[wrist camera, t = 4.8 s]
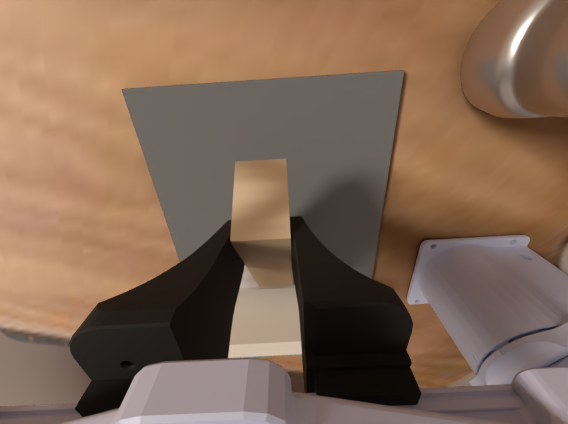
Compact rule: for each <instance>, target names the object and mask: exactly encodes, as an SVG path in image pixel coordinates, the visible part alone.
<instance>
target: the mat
mask: <svg viewBox="0 0 568 424" xmlns="http://www.w3.org/2000/svg"><path fill="white" fill-rule="evenodd" d="M403 76H404V70H400V71H385V72H370V73H355V74H340V75H325V76H310V77H295V78H280V79H265V80H250V81H235V82H220V83H205V84H190V85H175V86H160V87H145V88H130V89H122V92H123V95H124V98H125V101H126V104H127V107H128V110H129V113H130V116H131V119H132V122H133V125H134V128H135V131H136V134H137V137H138V139H139V142H140V145H141V148H142V151H143V154H144V157H145V160H146V163H147V166H148V169H149V172H150V175H151V178H152V181H153V184H154V187H155V190H156V192H157V195H158V198H159V201H160V204H161V207H162V210H163V213H164V216H165V219H166V222H167V225H168V228H169V231H170V234H171V237H172V240H173V243H174V245H175V248H176V251H177V254H178V257H179V260H180V262H181V261H183V260H184V259H186V258H187V257H188V256H190V255H191V254H192V253H193V252H195V251H196V250H197V249H198V248H199V247H200V246H202V245H203V244H204V243H205V242H206V241H207V240H208V239H209V238H210V237H212V236H213V235H214V234H215V233H216V232H217V231H218V230H219V229H220V228H221V227H222V226H223V225H224V224H225V223H226V222H227V221H228V220H232V204H233V189H234V173H235V162H236V161H253V160H271V159H286V163H287V181H288V198H289V215H290V217H294V216H302V217H303V219H304V220H305V222H306V224H307V225H308V227H309V228H310V230H311V231H312V232H313V233H314V235H315V236H316V237H317V238H318V239H319V241H320V242H321V243H322V244H323V245H324V246H325V247H326V248H327V249H328V250H329V251H330V252H331V253H332V254H334V255H335V256H336V257H337V258H338V259H340V260H341V261H342V262H344V263H345V264H347V265H348V266H350V267H351V268H353V269H355V270H356V271H358V272H360V273H361V274H363V275H365V276H367V277H369V278H371V279H372V276H373V269H374V263H375V256H376V250H377V244H378V237H379V231H380V224H381V218H382V211H383V205H384V198H385V192H386V185H387V179H388V173H389V166H390V160H391V153H392V147H393V140H394V134H395V127H396V121H397V114H398V108H399V101H400V95H401V89H402V82H403Z"/></svg>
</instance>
